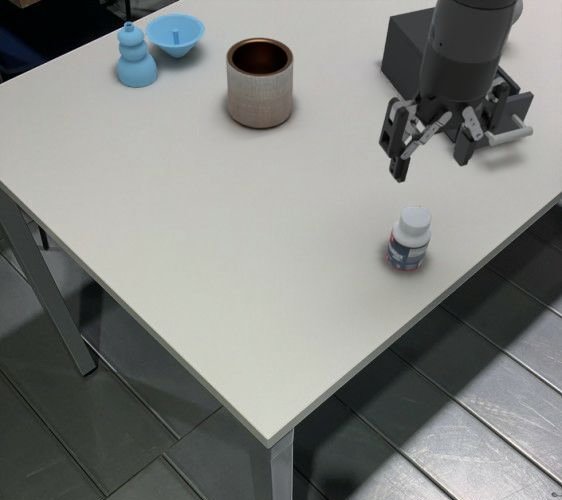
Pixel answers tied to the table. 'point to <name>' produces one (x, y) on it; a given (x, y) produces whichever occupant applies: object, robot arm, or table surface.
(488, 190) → the table surface
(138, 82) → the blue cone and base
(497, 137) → the pull-out drawer
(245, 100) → the planter
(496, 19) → the robot arm
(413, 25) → the small drawer cabinet
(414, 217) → the pill bottle
